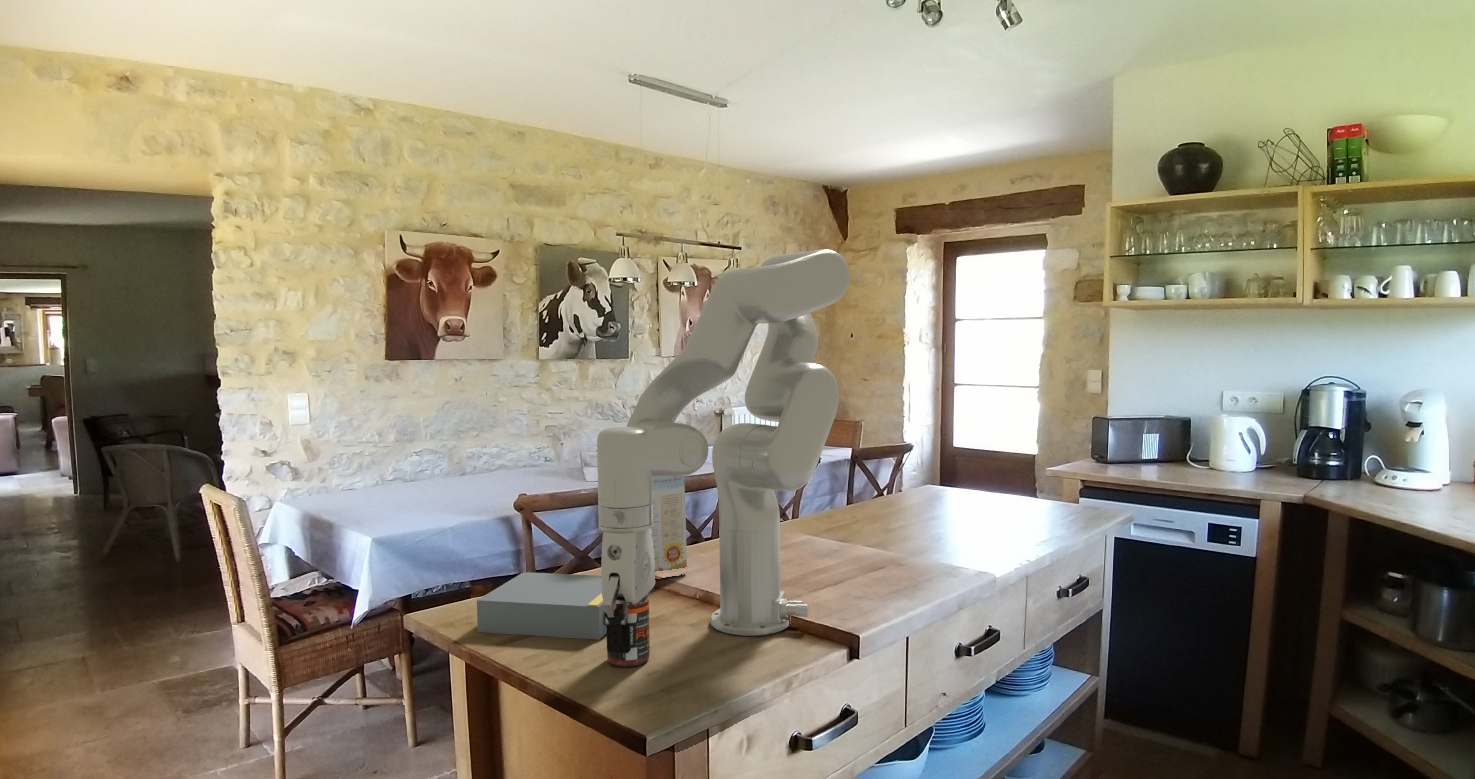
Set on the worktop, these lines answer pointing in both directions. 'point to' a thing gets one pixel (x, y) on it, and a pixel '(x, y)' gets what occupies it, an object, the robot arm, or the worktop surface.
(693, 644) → the worktop surface
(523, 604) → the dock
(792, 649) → the worktop surface
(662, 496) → the cracker box
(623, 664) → the supplement bottle
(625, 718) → the worktop surface
